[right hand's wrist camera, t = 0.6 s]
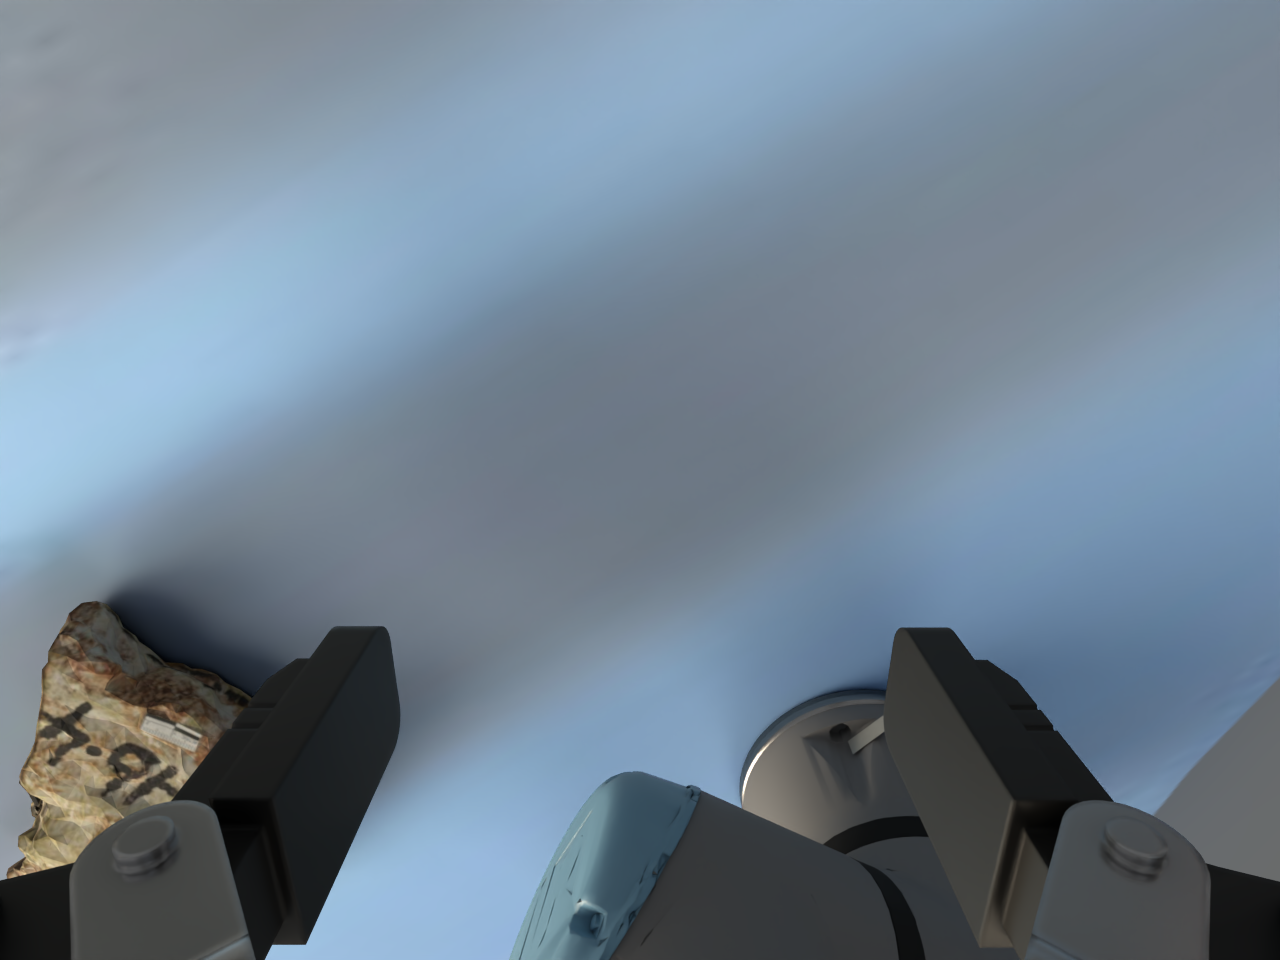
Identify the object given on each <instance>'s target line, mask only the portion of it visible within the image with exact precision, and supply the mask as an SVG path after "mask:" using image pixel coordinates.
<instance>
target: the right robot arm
mask: <svg viewBox="0 0 1280 960" xmlns="http://www.w3.org/2000/svg"><path fill="white" fill-rule="evenodd" d="M883 721H884V731H885V737H886V742H887V745H888V748H889V751H890V753H891V756H892V758H893V760H894V762H895V764H896V767H897V769H898V771H899V773H900V775H901V777H902V780H903V782H904V784H905V786H906V788H907V790H908V793H909V795H910V797H911V799H912V801H913V804H914V806H915V808H916V810H917V812H918V814H919V817H920V819H921V821H922V823H923V825H924V828H925V830H926V832H927V834H928V836H929V838H930V841H931V843H932V845H933V847H934V849H935V851H936V854H937V856H938V858H939V860H940V862H941V865H942V867H943V869H944V871H945V873H946V875H947V878H948V880H949V882H950V884H951V886H952V889H953V891H954V893H955V895H956V897H957V899H958V902H959V904H960V906H961V908H962V910H963V913H964V915H965V917H966V919H967V921H968V923H969V926H970V928H971V930H972V932H973V934H974V936H975V939H976V941H977V943H978V945H979V947H980V948H1014V949H1015V951H1016V953H1017V955H1018V957H1019V959H1020V960H1280V882H1278V881H1274V880H1270V879H1266V878H1262V877H1258V876H1254V875H1249V874H1245V873H1241V872H1237V871H1233V870H1229V869H1225V868H1221V867H1217V866H1213V865H1210V864H1207V863H1205V861H1204V859H1203V858H1202V856H1201V855H1200V853H1199V852H1198V851H1197V850H1196V849H1195V847H1194V846H1193V845H1192V844H1191V843H1190V842H1189V841H1188V840H1187V839H1186V838H1185V837H1184V836H1182V835H1181V834H1180V833H1179V832H1177V831H1176V830H1175V829H1173V828H1172V827H1170V826H1169V825H1167V824H1166V823H1164V822H1163V821H1161V820H1159V819H1158V818H1156V817H1154V816H1152V815H1150V814H1148V813H1146V812H1143V811H1141V810H1139V809H1136V808H1133V807H1130V806H1128V805H1124V804H1120V803H1116V802H1114V801H1113V800H1112V799H1111V797H1110V796H1109V795H1108V794H1107V792H1106V791H1105V790H1104V789H1103V787H1102V786H1101V785H1100V784H1099V782H1098V781H1097V780H1096V779H1095V777H1094V776H1093V775H1092V774H1091V772H1090V771H1089V770H1088V769H1087V767H1086V766H1085V765H1084V764H1083V762H1082V761H1081V760H1080V759H1079V757H1078V756H1077V755H1076V754H1075V752H1074V751H1073V750H1072V749H1071V747H1070V746H1069V745H1068V744H1067V742H1066V741H1065V740H1064V739H1063V737H1062V736H1061V735H1060V733H1059V732H1058V731H1054V730H1053V725H1052V723H1051V722H1050V721H1049V720H1048V718H1047V717H1046V716H1045V715H1044V713H1043V712H1042V711H1041V710H1037V705H1036V703H1035V702H1034V701H1033V700H1032V698H1031V697H1030V696H1029V695H1028V693H1027V692H1026V691H1025V690H1024V688H1023V687H1022V686H1021V685H1020V683H1019V682H1018V681H1017V680H1016V679H1014V678H1013V677H1011V676H1010V675H1008V674H1007V673H1005V672H1004V671H1003V670H1001V669H1000V668H998V667H997V666H995V665H994V664H992V663H991V662H989V661H988V660H975V659H974V658H973V657H972V655H971V654H970V653H969V651H968V650H967V649H966V647H965V646H964V645H963V643H962V642H961V641H960V639H959V638H958V636H957V635H956V634H955V633H954V631H953V630H951V629H950V628H899V629H898V630H897V632H896V634H895V637H894V642H893V648H892V655H891V662H890V669H889V676H888V683H887V689H886V696H885V703H884V713H883ZM399 727H400V704H399V697H398V690H397V683H396V676H395V669H394V662H393V655H392V648H391V641H390V636H389V633H388V631H387V629H386V628H385V627H383V626H336V627H334V628H332V629H331V630H330V631H329V633H328V634H327V636H326V637H325V638H324V640H323V641H322V642H321V644H320V645H319V646H318V648H317V649H316V651H315V652H314V653H313V655H312V656H311V657H310V659H296V660H294V661H293V662H291V663H290V664H288V665H287V666H286V667H284V668H283V669H281V670H280V671H278V672H277V673H275V674H274V675H273V676H271V677H270V678H268V679H267V680H266V681H265V683H264V684H263V685H262V686H261V688H260V689H259V690H258V691H257V693H256V694H255V695H254V697H253V698H252V699H251V700H250V702H249V703H248V708H244V709H243V710H242V712H241V713H240V714H239V715H238V717H237V718H236V719H235V721H234V722H233V723H232V728H231V729H227V731H226V732H225V733H224V734H223V736H222V737H221V738H220V740H219V741H218V742H217V743H216V745H215V746H214V747H213V748H212V750H211V751H210V752H209V753H208V755H207V756H206V757H205V758H204V760H203V761H202V762H201V764H200V765H199V766H198V767H197V769H196V770H195V771H194V772H193V774H192V775H191V776H190V777H189V779H188V780H187V781H186V783H185V784H184V785H183V786H182V788H181V789H180V790H179V791H178V793H177V794H176V795H175V796H174V798H173V799H172V800H171V801H170V802H164V803H160V804H156V805H152V806H150V807H147V808H144V809H141V810H139V811H137V812H134V813H132V814H130V815H128V816H126V817H124V818H122V819H121V820H119V821H117V822H116V823H114V824H113V825H111V826H110V827H108V828H106V829H105V830H104V831H103V832H101V833H100V834H99V835H98V836H96V837H95V838H94V839H93V840H92V841H91V842H90V843H89V844H88V845H87V846H86V847H85V849H84V850H83V851H82V852H81V853H80V855H79V856H78V858H77V859H76V861H75V862H74V863H70V864H66V865H62V866H58V867H54V868H50V869H46V870H42V871H38V872H34V873H29V874H25V875H21V876H17V877H13V878H9V879H5V880H1V881H0V960H265V958H266V956H267V954H268V952H269V950H270V948H271V946H272V945H306V943H307V941H308V939H309V937H310V934H311V932H312V930H313V928H314V926H315V923H316V921H317V919H318V917H319V915H320V912H321V910H322V908H323V906H324V904H325V901H326V899H327V897H328V895H329V892H330V890H331V888H332V886H333V884H334V881H335V879H336V877H337V875H338V873H339V870H340V868H341V866H342V864H343V862H344V859H345V857H346V855H347V853H348V851H349V848H350V846H351V844H352V842H353V840H354V837H355V835H356V833H357V831H358V829H359V826H360V824H361V822H362V820H363V817H364V815H365V813H366V811H367V809H368V806H369V804H370V802H371V800H372V798H373V795H374V793H375V791H376V789H377V787H378V784H379V782H380V780H381V778H382V776H383V773H384V771H385V769H386V767H387V765H388V762H389V760H390V758H391V756H392V754H393V751H394V749H395V746H396V743H397V739H398V734H399Z"/></svg>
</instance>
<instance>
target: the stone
mask: <svg viewBox="0 0 1280 960" xmlns="http://www.w3.org/2000/svg"><path fill="white" fill-rule="evenodd" d="M251 699H252V698H251V697H250V696H248V695H247V694H245V693H244V692H243V691H241V690H240V689H238V688H235V687H233V686H231V685H229V684H227V683H225V682H224V681H223V680H222V679H221V678H220V677H219V676H218V675H217V674H214V673H211V672H209V671H206V670H203V669H191V668H189V667H188V666H186V665H185V664H183V663H166V662H164V661H163V660H162V659H161V658H160V657H159V656H157V655H156V654H155V653H154V652H153V651H152V650H151V649H149V648H148V647H146V646H145V645H143V644H142V643H140V642H139V641H138V639H137V637H136V636H135V635H133V634H132V633H131V632H129V631H128V630H126V629H125V628H123V626H122V624H121V621H120V619H119V616H118V615H117V614H116V613H115V612H114V611H113V610H112V609H111V608H110V607H109V606H108V605H107V604H104V603H101V602H98V601H94V602H86V603H81V604H80V605H79V606H78V607H76V608H75V609H74V610H73V611H72V612H70V613H69V615H68V618H67V620H66V623H65V624H64V626H63V627H62V628H61V630H60V632H59V634H58V636H57V638H56V639H55V641H54V643H53V644H52V646H51V648H50V650H49V652H48V663H47V664H46V665H45V667H44V668H43V669H42V697H41V704H40V711H39V717H38V722H37V729H36V738H35V743H34V745H33V747H32V750H31V752H30V754H29V756H28V758H27V760H26V762H25V764H24V766H23V768H22V770H21V773H20V776H19V777H20V781H19V784H20V785H21V786H22V787H23V788H24V789H25V790H26V791H27V792H28V793H29V795H30V797H31V799H32V801H33V802H32V804H31V812H32V816H34V817H35V821H34V824H33V827H32V828H31V829H29V830H28V831H26V832H24V833H23V834H21V835H20V836H19V839H18V847H19V849H20V850H21V851H22V852H23V853H24V855H25V857H24V858H23V859H21V860H20V861H18V862H17V863H15V864H14V865H13V866H11V867H10V868H8V871H7V879H9V878H13V877H17V876H21V875H25V874H29V873H34V872H38V871H42V870H46V869H50V868H54V867H58V866H62V865H66V864H70V863H74V862H75V861H76V859H77V858H78V856H79V855H80V853H81V852H82V851H83V850H84V849H85V847H86V846H87V845H88V844H89V843H90V842H91V841H92V840H93V839H94V838H95V837H96V836H98V835H99V834H100V833H101V832H103V831H104V830H105V829H106V828H108V827H110V826H111V825H113V824H114V823H116V822H117V821H119V820H121V819H122V818H124V817H126V816H128V815H130V814H132V813H134V812H137V811H139V810H141V809H144V808H147V807H150V806H152V805H156V804H160V803H164V802H170V801H171V800H172V799H173V798H174V796H175V795H176V794H177V793H178V791H179V790H180V789H181V788H182V786H183V785H184V784H185V783H186V781H187V780H188V779H189V777H190V776H191V775H192V774H193V772H194V771H195V770H196V769H197V767H198V766H199V765H200V764H201V762H202V761H203V760H204V758H205V757H206V756H207V755H208V753H209V752H210V751H211V750H212V748H213V747H214V746H215V745H216V743H217V742H218V741H219V740H220V738H221V737H222V736H223V734H224V733H225V732H226V731H227V729H231V728H232V723H233V722H234V721H235V719H236V718H237V717H238V715H239V714H240V713H241V712H242V710H243V709H244V708H248V703H249V702H250V700H251Z"/></svg>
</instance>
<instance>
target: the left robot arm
mask: <svg viewBox="0 0 1280 960" xmlns="http://www.w3.org/2000/svg"><path fill="white" fill-rule="evenodd" d="M885 696H886V691H880V690H849V691H842V692H837V693H832V694H828V695H824V696H821V697H818V698H815V699H812V700H810V701H807V702H805V703H803V704H801V705H799V706H797V707H795V708H793V709H792V710H790V711H788V712H787V713H785V714H784V715H782V716H781V717H780V718H778V719H777V720H776V721H774V722H773V723H772V724H771V725H770V726H769V727H768V728H767V729H766V730H765V731H764V732H763V733H762V734H761V735H760V737H759V738H758V739H757V740H756V742H755V743H754V745H753V746H752V748H751V750H750V751H749V753H748V755H747V758H746V760H745V762H744V765H743V768H742V773H741V777H740V799H741V805H742V808H739V807H737V806H735V805H733V804H730V803H728V802H726V801H724V800H721V799H719V798H717V797H715V796H712V795H710V794H708V793H706V792H704V791H701V790H700V788H698V787H696V786H693V785H688V786H687V787H685V786H682V785H679V784H677V783H674V782H671V781H668V780H665V779H662V778H659V777H656V776H653V775H650V774H647V773H644V772H638V771H637V772H634V771H633V772H624V773H621V774H618V775H615V776H613V777H611V778H609V779H608V780H606V781H605V782H604V783H603V784H601V785H600V786H599V787H598V788H597V789H596V790H595V791H594V792H593V794H592V795H591V796H590V797H589V799H588V800H587V801H586V802H585V804H584V805H583V806H582V808H581V809H580V811H579V812H578V814H577V815H576V817H575V818H574V820H573V822H572V823H571V825H570V826H569V828H568V830H567V832H566V833H565V835H564V837H563V839H562V840H561V842H560V844H559V846H558V848H557V850H556V852H555V854H554V855H553V857H552V859H551V861H550V863H549V865H548V867H547V869H546V871H545V873H544V876H543V878H542V880H541V882H540V884H539V886H538V888H537V891H536V893H535V895H534V897H533V900H532V902H531V904H530V907H529V909H528V911H527V914H526V916H525V919H524V921H523V924H522V926H521V929H520V931H519V934H518V936H517V939H516V942H515V944H514V947H513V950H512V953H511V956H510V959H509V960H1020V959H1019V957H1018V955H1017V953H1016V951H1015V949H1014V948H980V947H979V945H978V943H977V941H976V939H975V936H974V934H973V932H972V930H971V928H970V926H969V923H968V921H967V919H966V917H965V915H964V913H963V910H962V908H961V906H960V904H959V902H958V899H957V897H956V895H955V893H954V891H953V889H952V886H951V884H950V882H949V880H948V878H947V875H946V873H945V871H944V869H943V867H942V865H941V862H940V860H939V858H938V856H937V854H936V851H935V849H934V847H933V845H932V843H931V841H930V838H929V836H928V834H927V832H926V830H925V828H924V825H923V823H922V821H921V819H920V817H919V814H918V812H917V810H916V808H915V806H914V804H913V801H912V799H911V797H910V795H909V793H908V790H907V788H906V786H905V784H904V782H903V780H902V777H901V775H900V773H899V771H898V769H897V767H896V764H895V762H894V760H893V758H892V756H891V753H890V751H889V748H888V745H887V742H886V737H885V731H884V721H883V713H884V703H885Z"/></svg>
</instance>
